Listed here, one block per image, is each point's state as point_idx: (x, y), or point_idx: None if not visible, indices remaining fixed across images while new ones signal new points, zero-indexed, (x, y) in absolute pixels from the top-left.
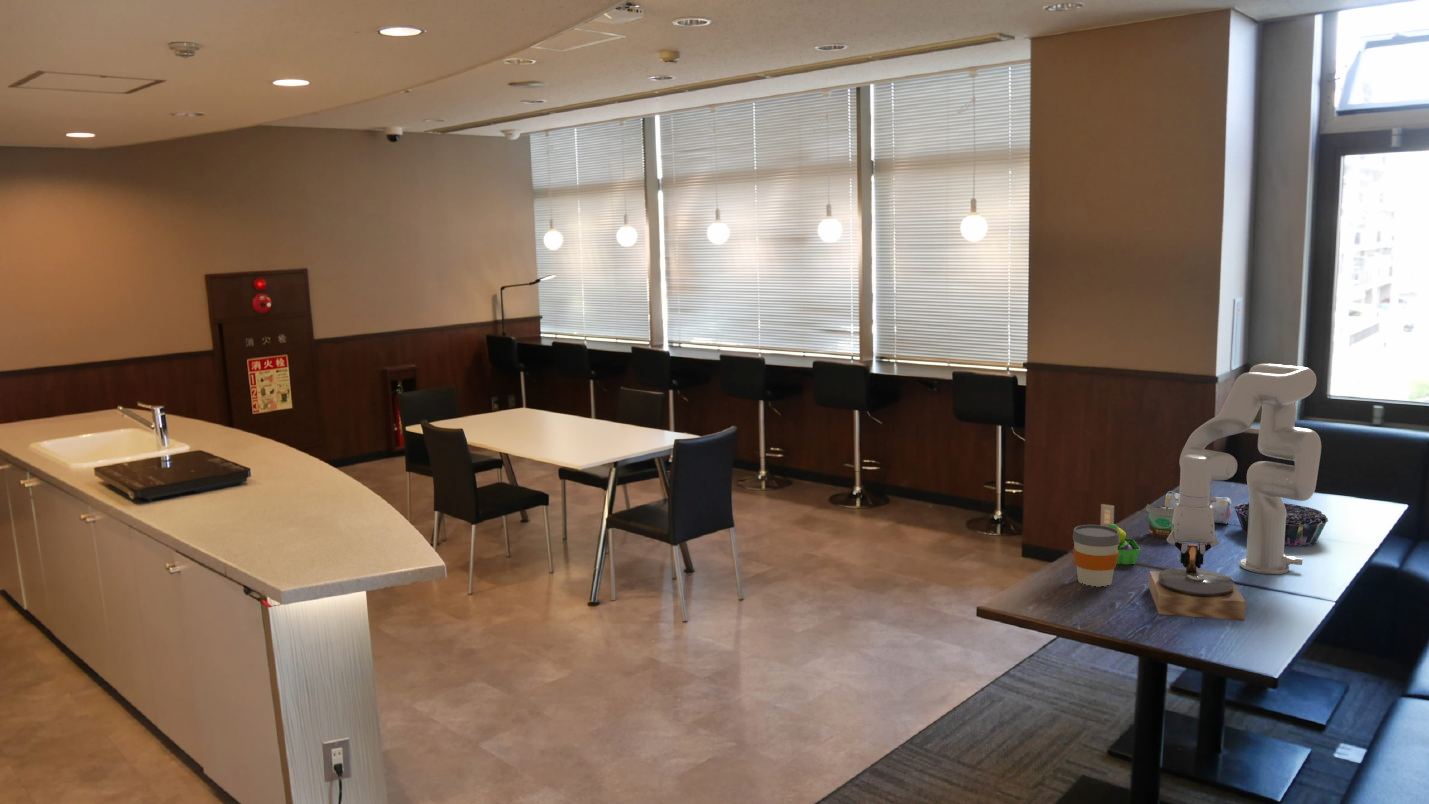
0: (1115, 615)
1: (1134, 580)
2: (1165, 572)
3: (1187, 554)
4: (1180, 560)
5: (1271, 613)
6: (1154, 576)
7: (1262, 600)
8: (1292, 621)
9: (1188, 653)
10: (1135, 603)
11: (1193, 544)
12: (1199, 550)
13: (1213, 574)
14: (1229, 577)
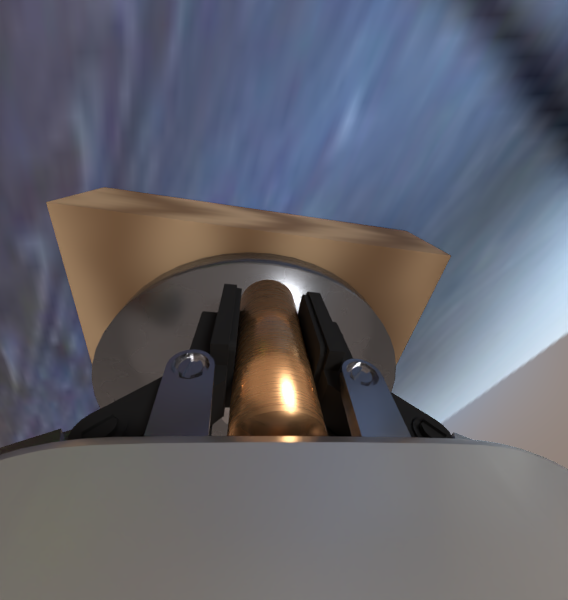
0: (28, 424)
1: (7, 35)
2: (125, 346)
3: (228, 406)
4: (202, 312)
5: (422, 369)
6: (85, 292)
7: (470, 286)
8: (433, 401)
9: None
10: (68, 347)
11: (299, 421)
12: (325, 418)
13: (350, 348)
14: (436, 277)
